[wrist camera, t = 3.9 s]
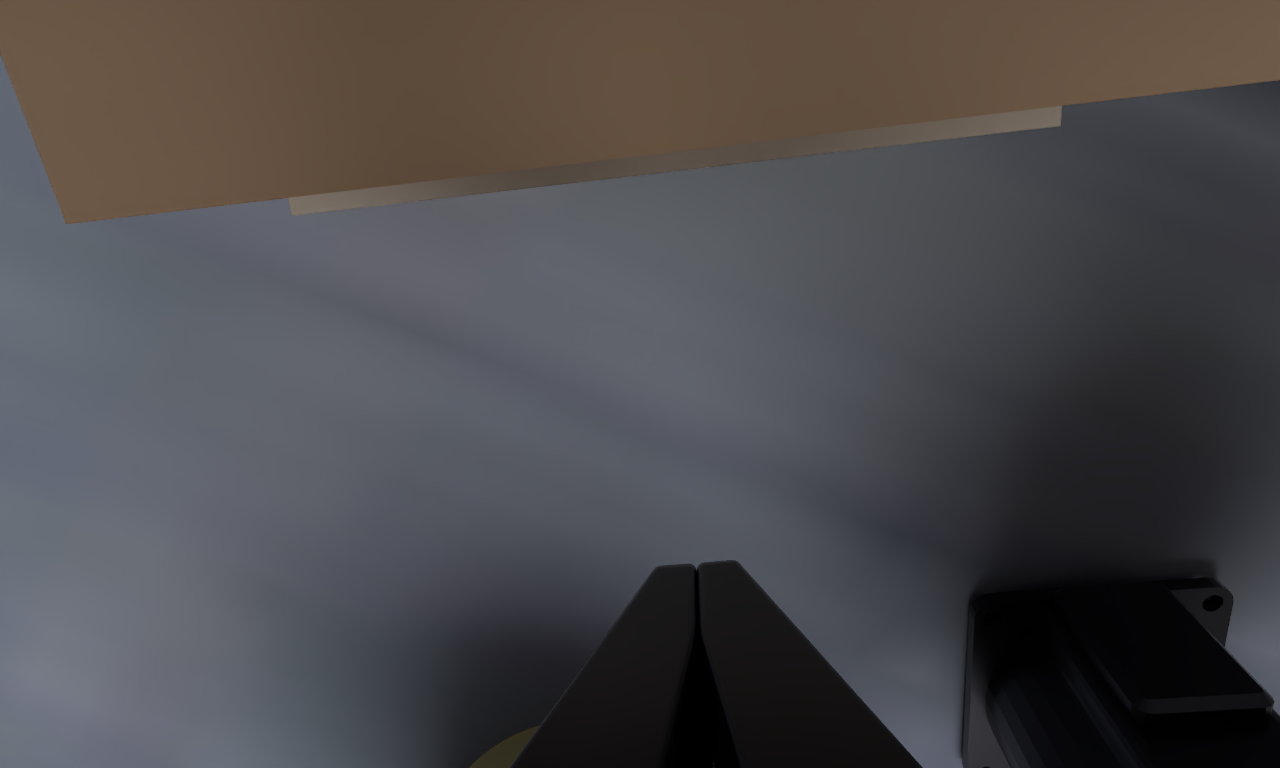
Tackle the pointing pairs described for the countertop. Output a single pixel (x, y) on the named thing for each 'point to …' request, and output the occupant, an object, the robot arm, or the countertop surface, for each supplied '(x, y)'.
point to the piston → (505, 751)
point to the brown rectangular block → (560, 87)
